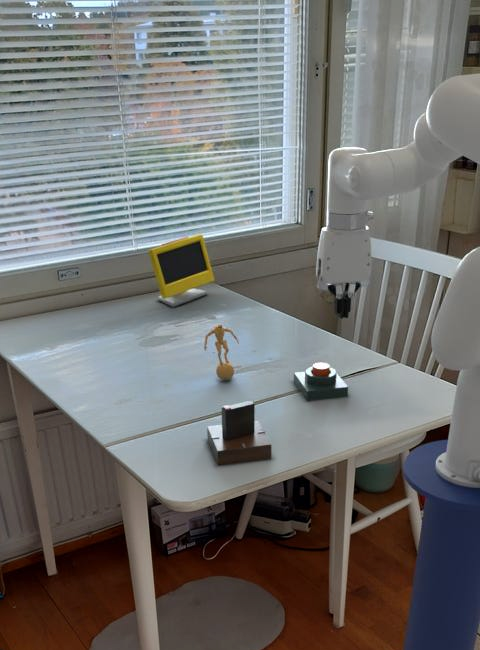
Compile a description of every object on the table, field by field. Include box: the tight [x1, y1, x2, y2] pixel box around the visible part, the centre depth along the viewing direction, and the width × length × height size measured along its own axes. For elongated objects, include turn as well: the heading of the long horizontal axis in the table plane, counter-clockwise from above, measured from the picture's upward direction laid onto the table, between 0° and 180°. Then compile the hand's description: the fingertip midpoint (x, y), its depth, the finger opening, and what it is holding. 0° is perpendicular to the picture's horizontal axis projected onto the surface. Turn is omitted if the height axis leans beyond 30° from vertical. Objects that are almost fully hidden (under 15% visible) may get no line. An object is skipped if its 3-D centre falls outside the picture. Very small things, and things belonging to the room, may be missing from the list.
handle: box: [221, 400, 256, 440], centre depth 143 cm, size 6×2×6 cm, turn 118°
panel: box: [206, 420, 272, 466], centre depth 146 cm, size 10×10×3 cm
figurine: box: [203, 324, 240, 381], centre depth 171 cm, size 8×6×12 cm
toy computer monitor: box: [148, 233, 215, 308], centre depth 215 cm, size 20×8×16 cm, turn 140°
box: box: [293, 365, 349, 402], centre depth 167 cm, size 10×9×4 cm
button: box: [312, 362, 331, 376], centre depth 166 cm, size 4×4×2 cm
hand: (341, 316), depth 158 cm, fingers closed
